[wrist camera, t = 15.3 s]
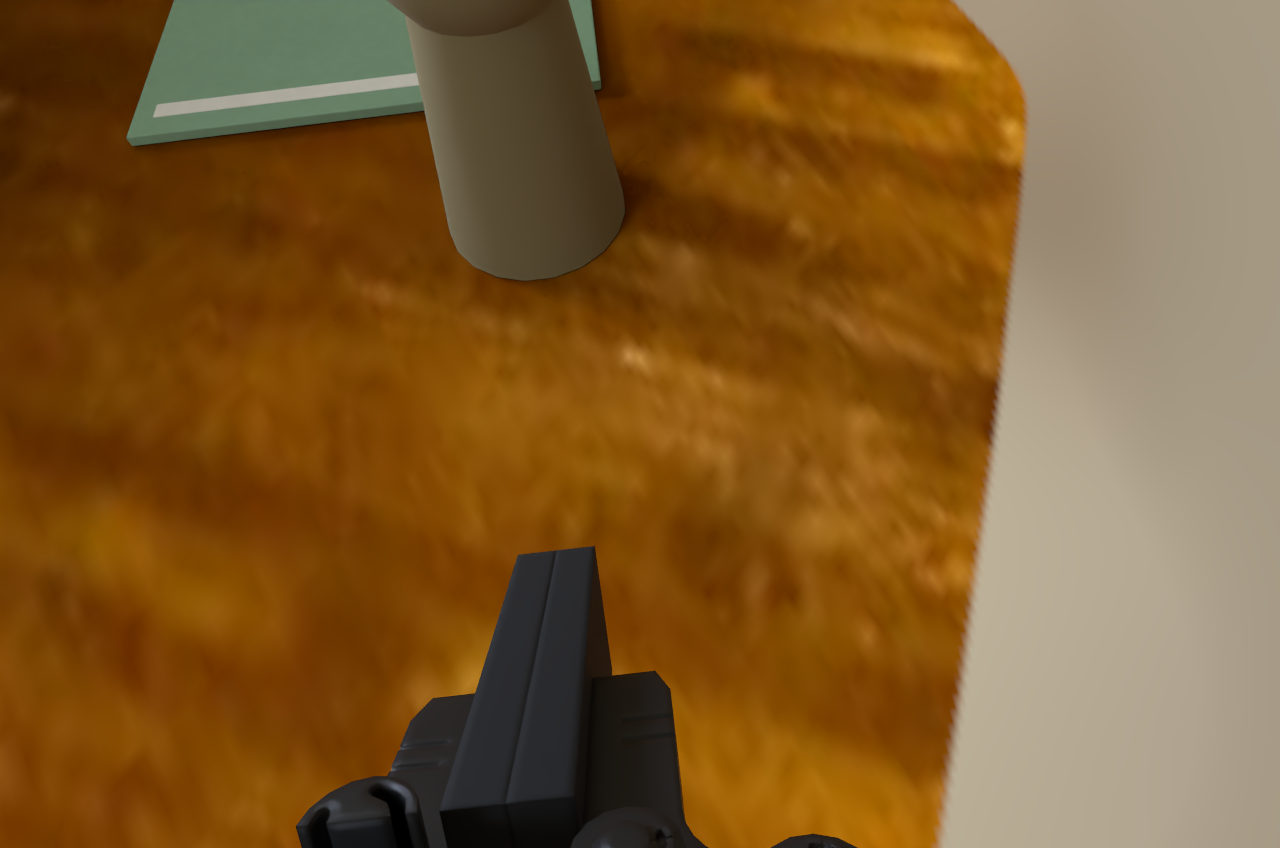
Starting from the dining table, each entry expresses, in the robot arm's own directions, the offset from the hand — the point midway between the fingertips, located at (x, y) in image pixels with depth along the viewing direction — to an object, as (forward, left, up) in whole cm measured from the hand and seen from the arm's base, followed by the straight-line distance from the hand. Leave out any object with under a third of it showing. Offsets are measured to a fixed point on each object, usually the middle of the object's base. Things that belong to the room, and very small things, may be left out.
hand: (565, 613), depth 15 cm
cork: (+1, -15, -4) cm, 16 cm away
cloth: (+7, -27, -4) cm, 28 cm away
